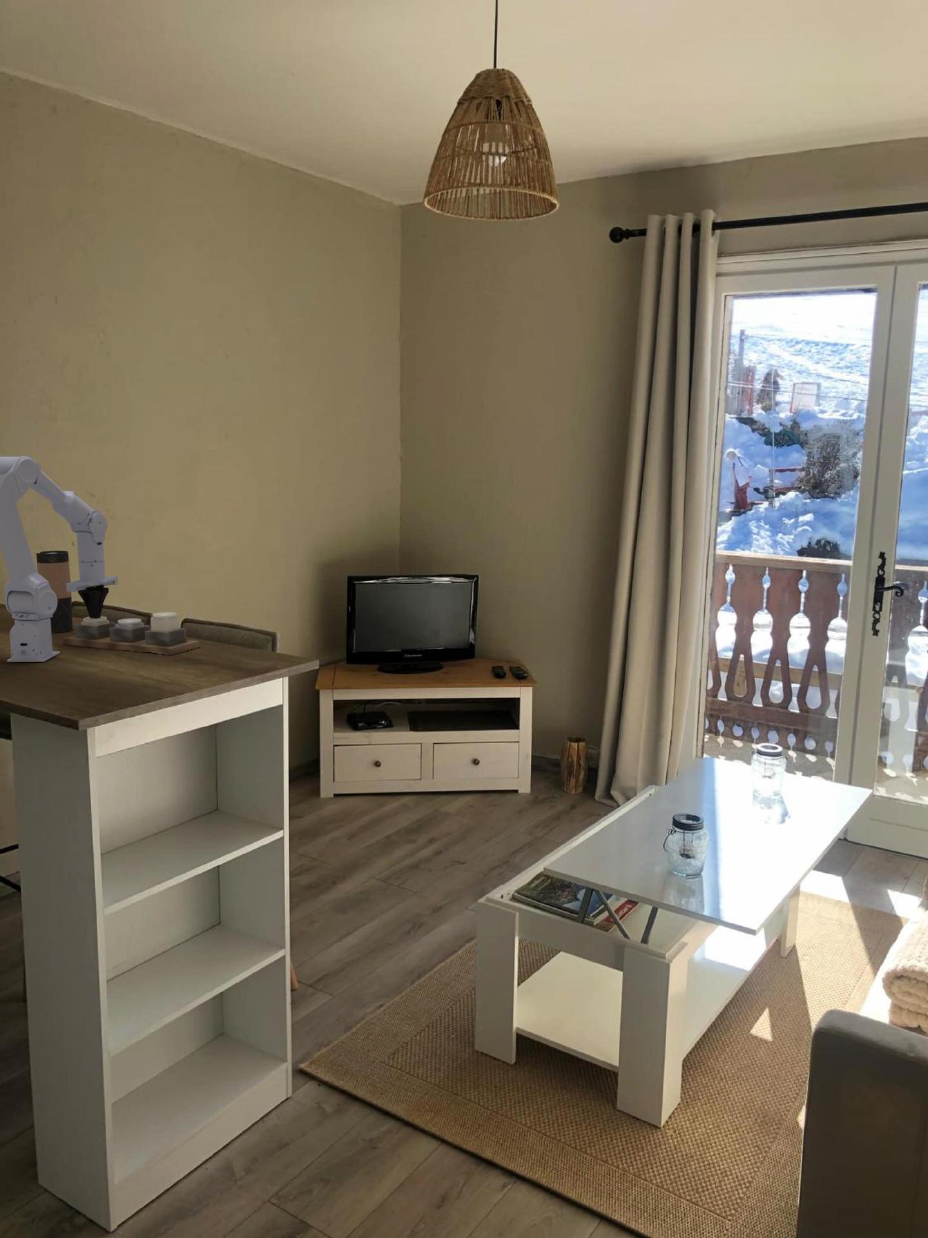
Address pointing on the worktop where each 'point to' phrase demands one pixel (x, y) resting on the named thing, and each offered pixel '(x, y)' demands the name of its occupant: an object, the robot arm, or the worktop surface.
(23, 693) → the worktop surface
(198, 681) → the worktop surface
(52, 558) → the travel mug
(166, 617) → the knob
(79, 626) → the knob backing plate
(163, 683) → the worktop surface
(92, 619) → the knob
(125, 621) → the knob
